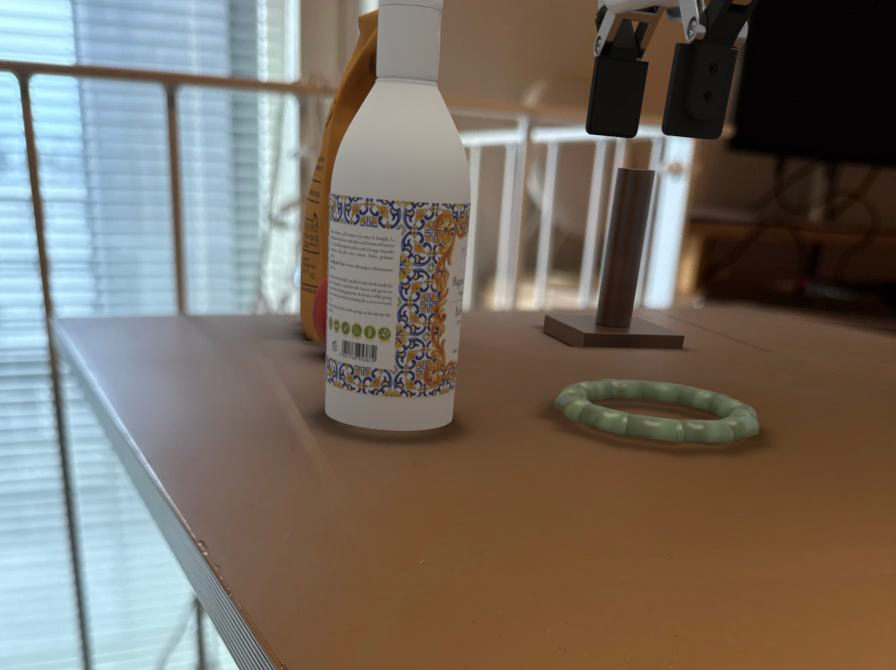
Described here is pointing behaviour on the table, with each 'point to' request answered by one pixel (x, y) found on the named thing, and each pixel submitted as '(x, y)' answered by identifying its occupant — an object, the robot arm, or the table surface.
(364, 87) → the coffee package
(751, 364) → the table surface
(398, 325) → the bath foam
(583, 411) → the ring
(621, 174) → the post
